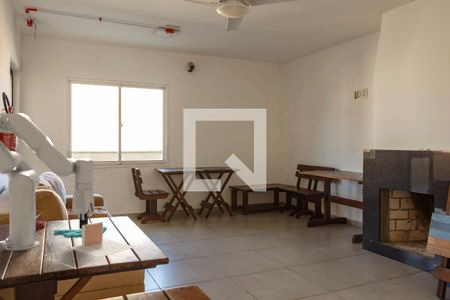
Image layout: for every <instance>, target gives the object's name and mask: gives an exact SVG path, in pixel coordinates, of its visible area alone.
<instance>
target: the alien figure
mask: <svg viewBox="0 0 450 300" xmlns="http://www.w3.org/2000/svg"><path fill="white" fill-rule="evenodd" d="M107 229H108V227H106V226H103V234H105V232H106V231H107ZM53 234H54V235H63V238H73V237H74V238H79V237H80V238H82V229H80V228H79V229H54V230H53Z"/></svg>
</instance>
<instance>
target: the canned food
mask: <svg viewBox="0 0 450 300" xmlns="http://www.w3.org/2000/svg"><path fill="white" fill-rule="evenodd" d="M43 213H44V211H42V212H41V213H39V214H38V215H36V230H43V229H45V228H46V227H47V226H46V220H42V219H37V218H38V217H40V216H41V215H42V214H43Z"/></svg>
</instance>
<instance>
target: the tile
mask: <svg viewBox="0 0 450 300" xmlns="http://www.w3.org/2000/svg"><path fill="white" fill-rule="evenodd" d="M103 227H104V221H97V222H92V223H91V222H90V223H88V224H86V225H82V237H81V245H82V247H87V246H91V245H95V244H99V243H103V240H104V239H103V237H104V235H103V234H104V233H103Z"/></svg>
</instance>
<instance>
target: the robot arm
mask: <svg viewBox="0 0 450 300" xmlns="http://www.w3.org/2000/svg"><path fill="white" fill-rule="evenodd" d="M0 133H5V134H13V135H14V136H16V137H17V138H18V139H19V140H20V141H21V142H23V144H24V145H25V146H26V147H27V148H29V150H30V151H32V152H33V154H34V155H35V156H36V157H37V158H38V159H40V161H41V162H42V163H43V164H44V165H45V166H46V167H47V168H48V169H49V170H51V171H52V172H53V173H54V174H55V175H56V176H59V177H61V178H62V177H63V178H65V177H68V176H70V175H74V191H73V193H72V207H71V208H72V209H71V211H72V212H74V213H75V214H76V215H77V216H78V217H77V218H78V220H79V222H78V223H79V224H78V228H79V229H82V225H86V224H89V219H90V217H92V216H93V213H94V212H95V197H94V160H93V159H91V158H77V159H74V158H68V157H65V155H63V153H61V152H60V151H59V150H58V148H56V147H55V145H54V144H53V143H52V139H50V137H49V136H48V135H47V134H46V133H45V132H43V131H42V129H40V128H39V126H37V125H36V124H35V123H34V122H33V119H32V117H30V116H28V115H27V114H24V113H21V112H15V113H3V112H0ZM0 174H1V175H6V176H7V177H8V178H9V181H8V189H7V190H8V196H9V197H8V198H9V231H8V235H9V236H8V237H6V239H4V240H1V241H0V247H4V249H5V250H6V251H9V252H19V251H26V250H27V251H29V249H34V248H36V247H38V246H40V241H38V240H36V220H37V218H36V216H37V215H36V214H37V213H36V212H37V207H36V205H37V202H36V190H37V188H38V187H39V185H40V182H41V181H40V180H41V179H40V176H39V174H38V173H37V171H36V170H35V169H34V168H33V167H32V166H31V165H30V164H29V162H28V161H27V160H26V159H25V158H24V157H23V156H22V155H21V154H20V153H18V152H17V151H12V150H10V149H9V148H7V147H6V145H5V144H4V143H3V142H2V141H1V140H0Z"/></svg>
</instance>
